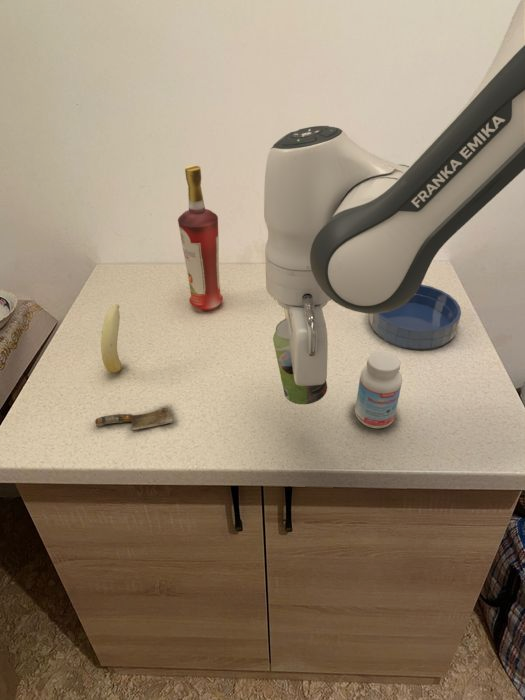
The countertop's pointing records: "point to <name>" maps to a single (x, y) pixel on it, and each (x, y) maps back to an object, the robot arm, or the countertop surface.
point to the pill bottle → (379, 390)
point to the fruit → (111, 340)
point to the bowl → (420, 320)
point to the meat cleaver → (138, 419)
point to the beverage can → (286, 371)
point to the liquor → (200, 246)
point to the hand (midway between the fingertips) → (300, 364)
